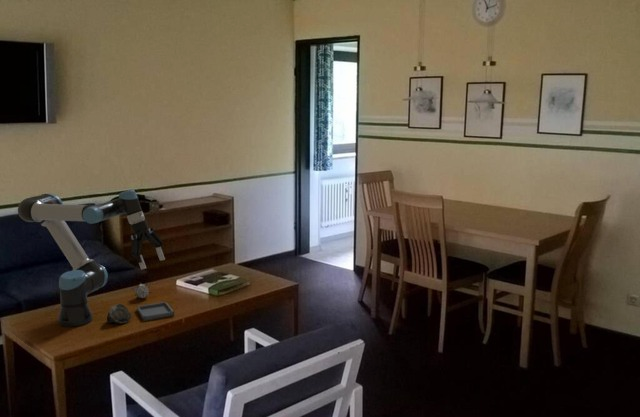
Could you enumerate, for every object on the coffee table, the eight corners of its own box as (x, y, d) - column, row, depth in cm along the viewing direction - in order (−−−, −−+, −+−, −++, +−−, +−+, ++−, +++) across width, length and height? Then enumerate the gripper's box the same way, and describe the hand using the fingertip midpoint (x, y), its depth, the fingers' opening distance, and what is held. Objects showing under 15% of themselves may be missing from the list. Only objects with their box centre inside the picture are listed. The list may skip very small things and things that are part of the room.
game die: (146, 304, 321) (157, 290, 319) (134, 303, 314) (145, 289, 312) (138, 293, 325) (149, 279, 324) (126, 291, 318) (137, 277, 316)
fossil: (124, 325, 281) (113, 307, 280) (108, 332, 283) (97, 314, 282) (135, 316, 291) (124, 298, 290) (120, 323, 294) (110, 305, 293)
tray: (143, 321, 288) (143, 316, 288) (136, 310, 302) (136, 306, 301) (174, 315, 295) (174, 311, 294) (166, 305, 308) (166, 301, 308)
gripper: (125, 226, 271) (141, 271, 273) (160, 213, 293) (175, 254, 295) (113, 230, 274) (129, 274, 276) (149, 217, 297) (164, 258, 298)
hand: (153, 264), depth 286 cm, fingers open, 13 cm apart
